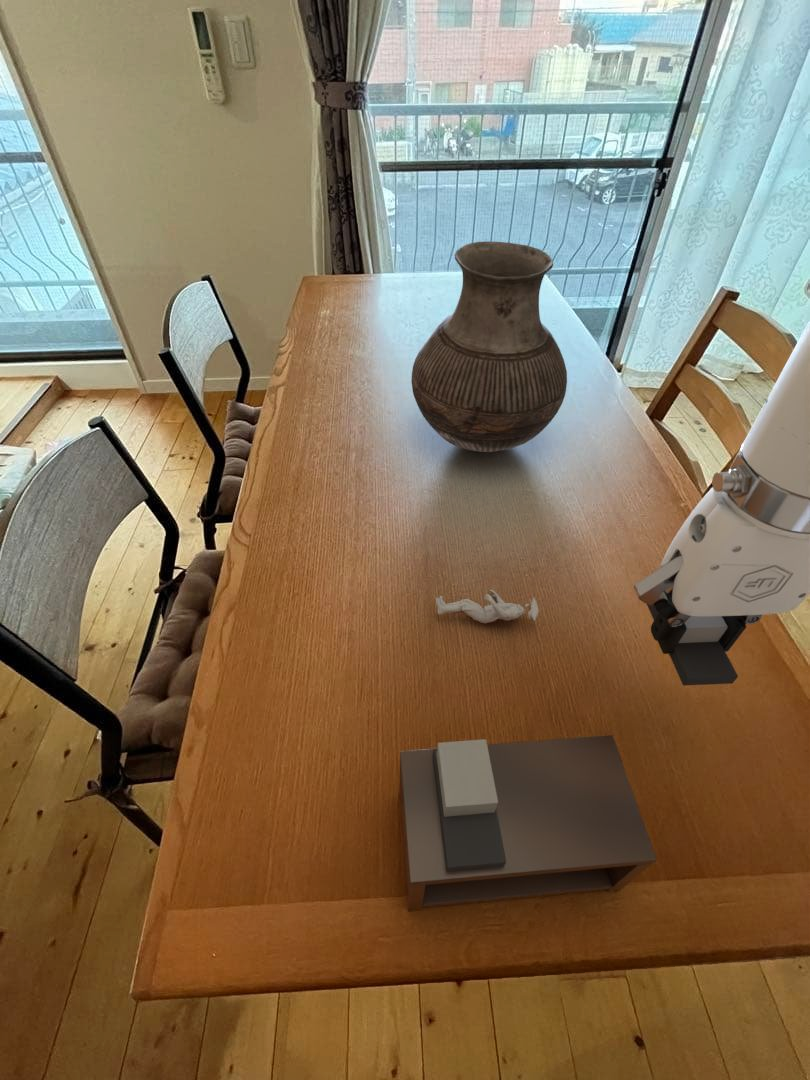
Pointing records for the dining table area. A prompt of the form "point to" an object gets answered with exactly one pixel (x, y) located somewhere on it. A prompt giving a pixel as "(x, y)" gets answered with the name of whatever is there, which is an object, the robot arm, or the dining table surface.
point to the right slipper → (702, 652)
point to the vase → (492, 354)
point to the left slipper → (468, 806)
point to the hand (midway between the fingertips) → (688, 638)
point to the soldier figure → (488, 609)
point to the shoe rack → (531, 824)
